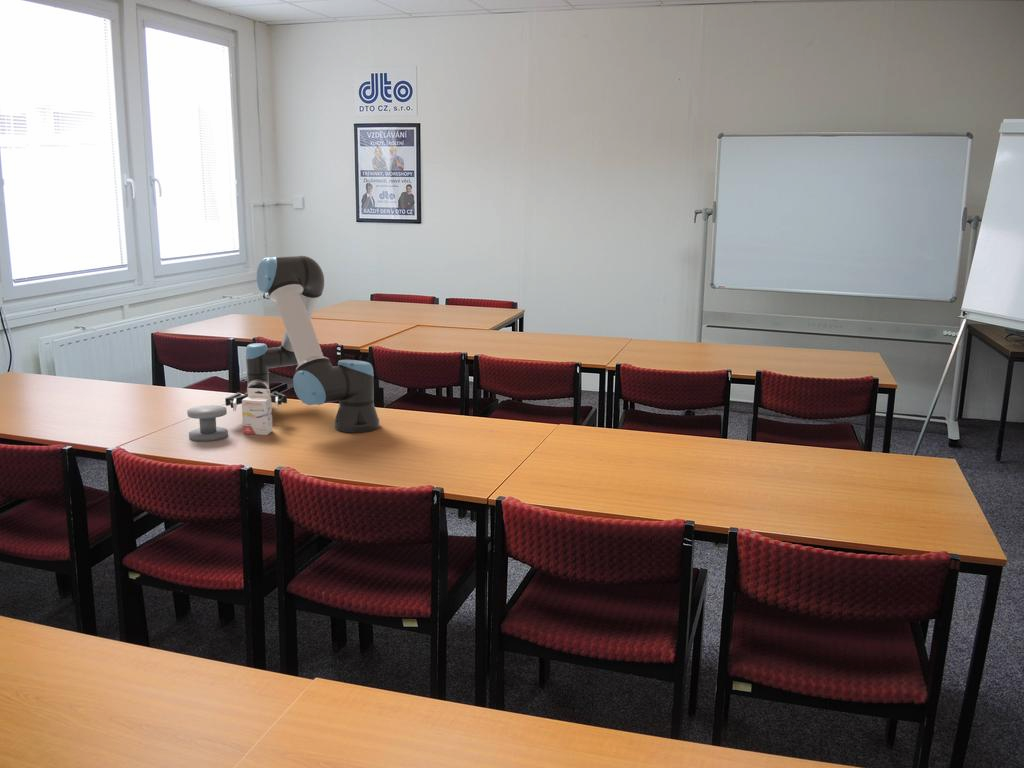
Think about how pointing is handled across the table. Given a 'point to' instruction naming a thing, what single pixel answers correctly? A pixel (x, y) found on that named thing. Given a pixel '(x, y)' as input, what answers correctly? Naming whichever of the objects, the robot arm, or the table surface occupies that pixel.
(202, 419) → the stand
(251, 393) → the ink cartridge box
